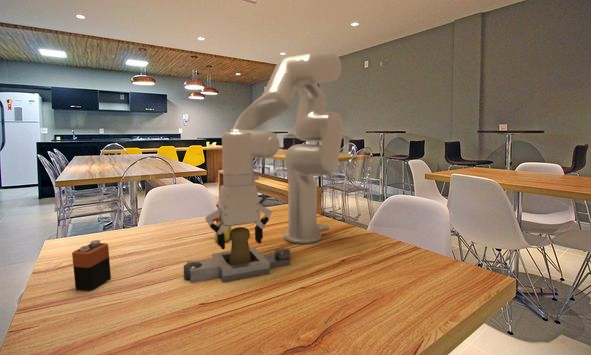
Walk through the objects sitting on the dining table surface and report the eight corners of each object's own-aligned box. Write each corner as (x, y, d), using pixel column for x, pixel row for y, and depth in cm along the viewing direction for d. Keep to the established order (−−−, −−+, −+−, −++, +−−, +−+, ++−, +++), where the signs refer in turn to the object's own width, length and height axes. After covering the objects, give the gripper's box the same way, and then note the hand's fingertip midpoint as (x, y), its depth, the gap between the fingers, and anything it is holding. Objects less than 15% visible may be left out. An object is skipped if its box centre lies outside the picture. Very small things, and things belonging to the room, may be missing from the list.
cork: (247, 274, 85) (246, 232, 83) (225, 272, 86) (224, 231, 84) (255, 264, 90) (254, 225, 89) (234, 263, 92) (233, 224, 90)
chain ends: (281, 253, 99) (281, 243, 99) (298, 268, 88) (298, 257, 88) (181, 269, 87) (180, 258, 87) (187, 289, 77) (186, 276, 76)
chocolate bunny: (234, 233, 118) (233, 191, 116) (229, 243, 107) (227, 198, 105) (214, 233, 118) (213, 191, 116) (207, 244, 107) (206, 198, 105)
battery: (112, 278, 82) (108, 239, 81) (91, 291, 76) (87, 249, 74) (95, 277, 83) (92, 238, 81) (74, 290, 76) (70, 248, 75)
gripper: (265, 176, 92) (266, 235, 94) (201, 180, 84) (204, 245, 87) (275, 180, 85) (276, 244, 87) (206, 185, 78) (209, 255, 80)
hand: (240, 244), depth 87 cm, fingers open, 9 cm apart
